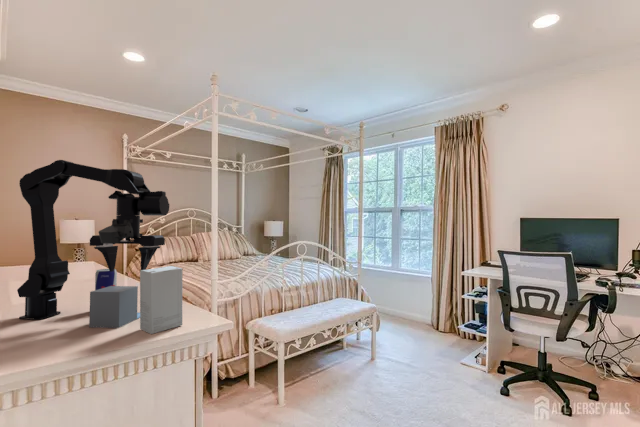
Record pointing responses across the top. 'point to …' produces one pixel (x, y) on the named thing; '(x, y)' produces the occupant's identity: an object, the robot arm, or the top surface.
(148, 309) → the tall grey upright carton
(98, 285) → the energy drink
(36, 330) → the top surface
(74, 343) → the top surface
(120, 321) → the gray rectangular block
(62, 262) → the robot arm
